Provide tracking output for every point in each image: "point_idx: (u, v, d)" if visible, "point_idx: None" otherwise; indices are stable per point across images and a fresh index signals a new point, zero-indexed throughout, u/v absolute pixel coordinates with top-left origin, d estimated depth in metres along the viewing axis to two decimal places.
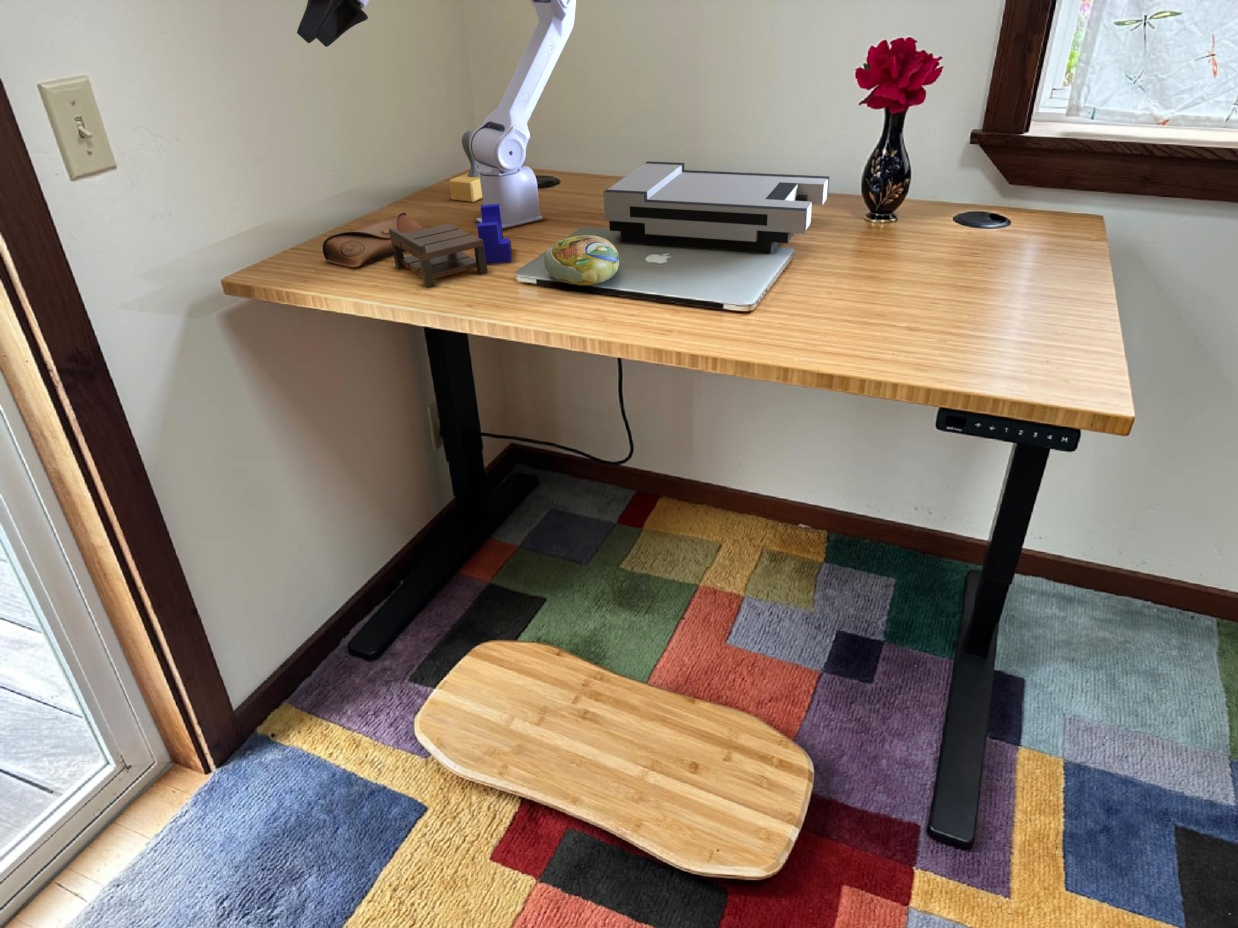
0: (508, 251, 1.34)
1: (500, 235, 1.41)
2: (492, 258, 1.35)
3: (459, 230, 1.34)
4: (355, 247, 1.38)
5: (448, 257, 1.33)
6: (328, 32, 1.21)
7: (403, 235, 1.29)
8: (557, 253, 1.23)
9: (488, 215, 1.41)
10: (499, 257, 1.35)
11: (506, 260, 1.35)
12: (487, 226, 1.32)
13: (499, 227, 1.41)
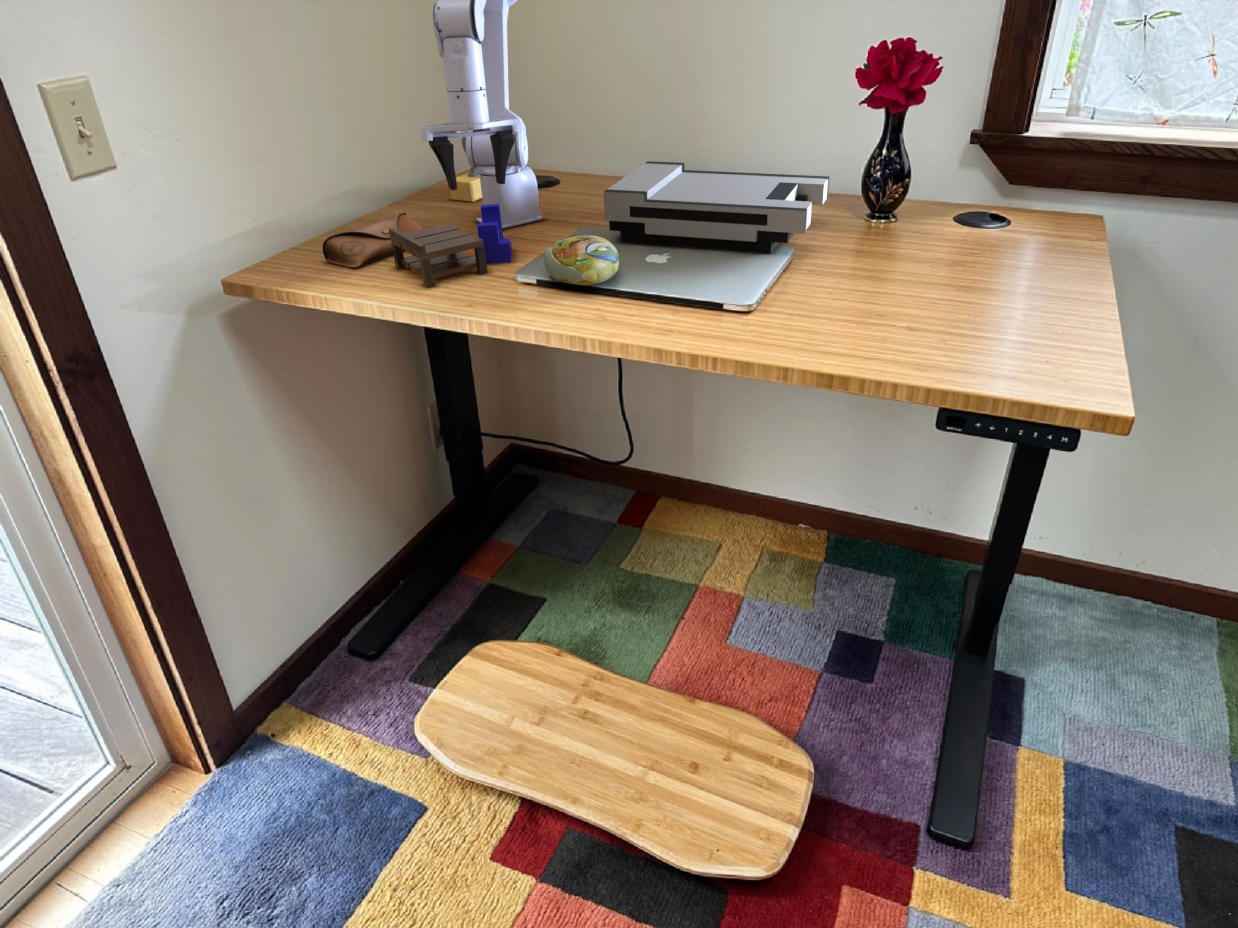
0: (508, 251, 1.34)
1: (500, 235, 1.41)
2: (492, 258, 1.35)
3: (459, 230, 1.34)
4: (355, 247, 1.38)
5: (448, 257, 1.33)
6: None
7: (403, 235, 1.29)
8: (557, 253, 1.23)
9: (488, 215, 1.41)
10: (499, 257, 1.35)
11: (506, 260, 1.35)
12: (487, 226, 1.32)
13: (499, 227, 1.41)
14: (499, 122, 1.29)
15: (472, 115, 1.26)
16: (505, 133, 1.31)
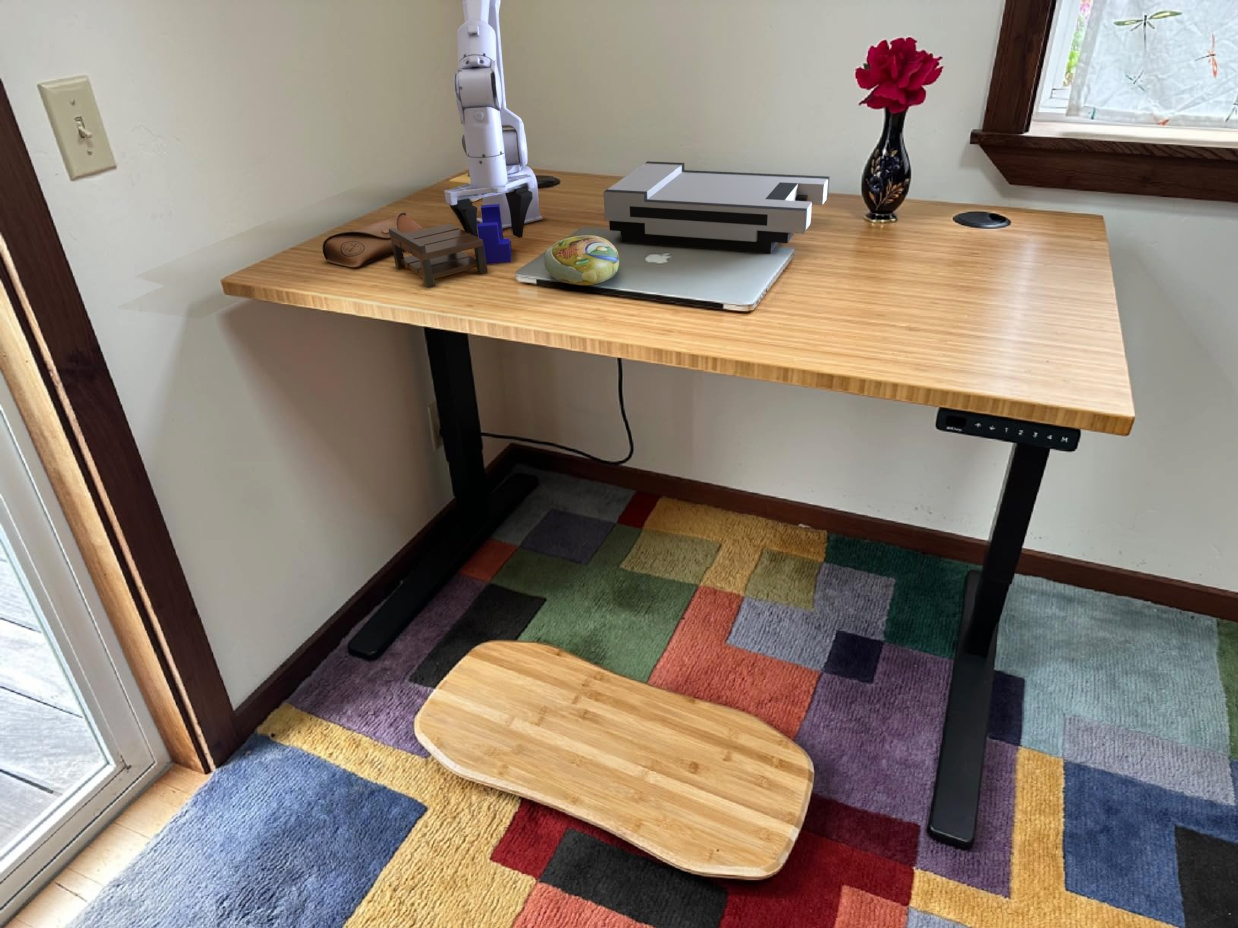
0: (508, 251, 1.34)
1: (500, 235, 1.41)
2: (492, 258, 1.35)
3: (459, 230, 1.34)
4: (355, 247, 1.38)
5: (448, 257, 1.33)
6: None
7: (403, 235, 1.29)
8: (557, 253, 1.23)
9: (488, 215, 1.41)
10: (499, 257, 1.35)
11: (506, 261, 1.35)
12: (487, 226, 1.32)
13: (499, 227, 1.41)
14: (517, 181, 1.35)
15: (494, 178, 1.32)
16: (522, 190, 1.37)
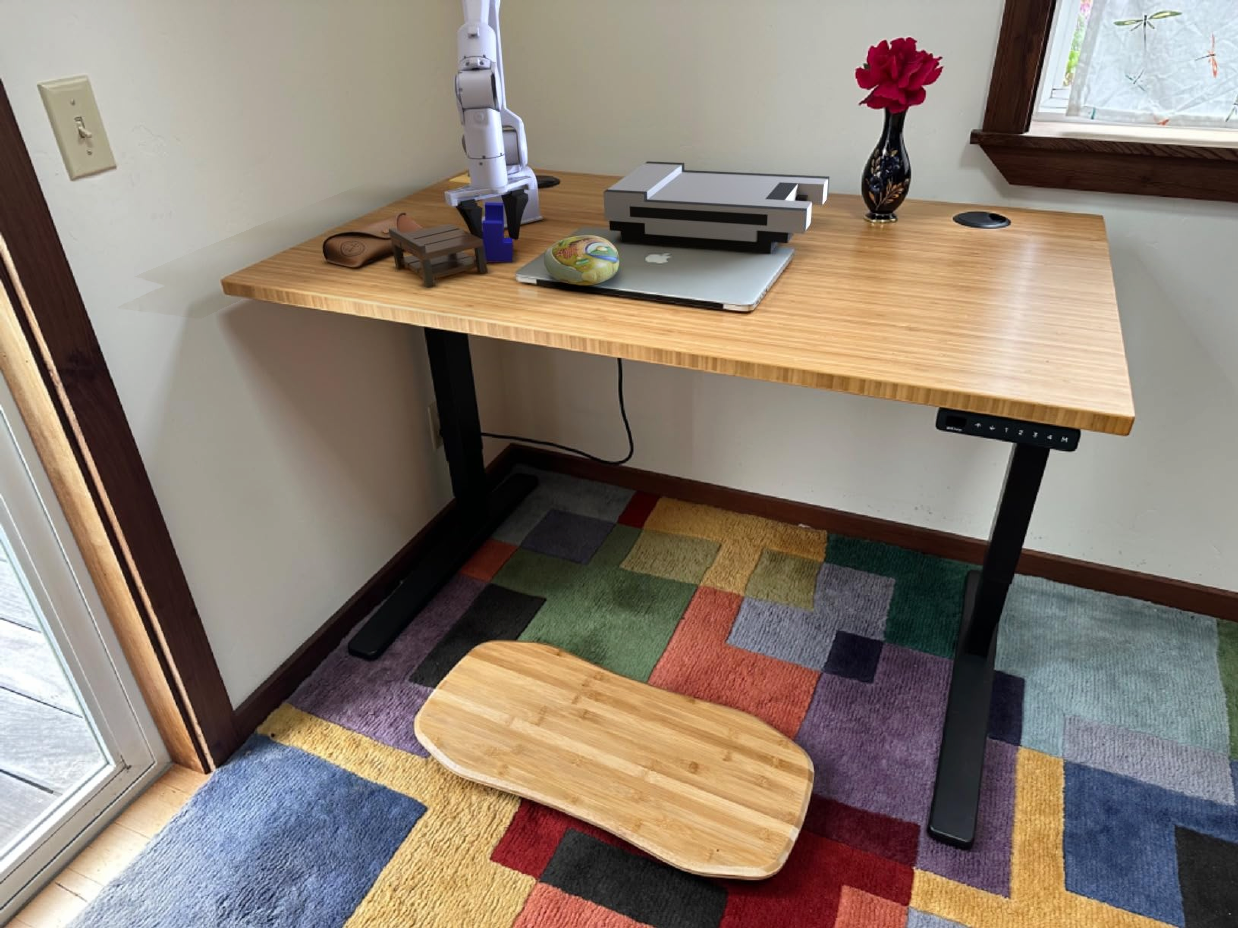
0: (511, 251, 1.34)
1: None
2: (494, 256, 1.35)
3: (459, 230, 1.34)
4: (355, 247, 1.38)
5: (448, 257, 1.33)
6: None
7: (403, 235, 1.29)
8: (557, 253, 1.23)
9: (491, 213, 1.41)
10: (501, 256, 1.35)
11: (508, 260, 1.35)
12: (492, 224, 1.32)
13: None
14: (517, 183, 1.35)
15: (494, 180, 1.32)
16: (517, 192, 1.37)
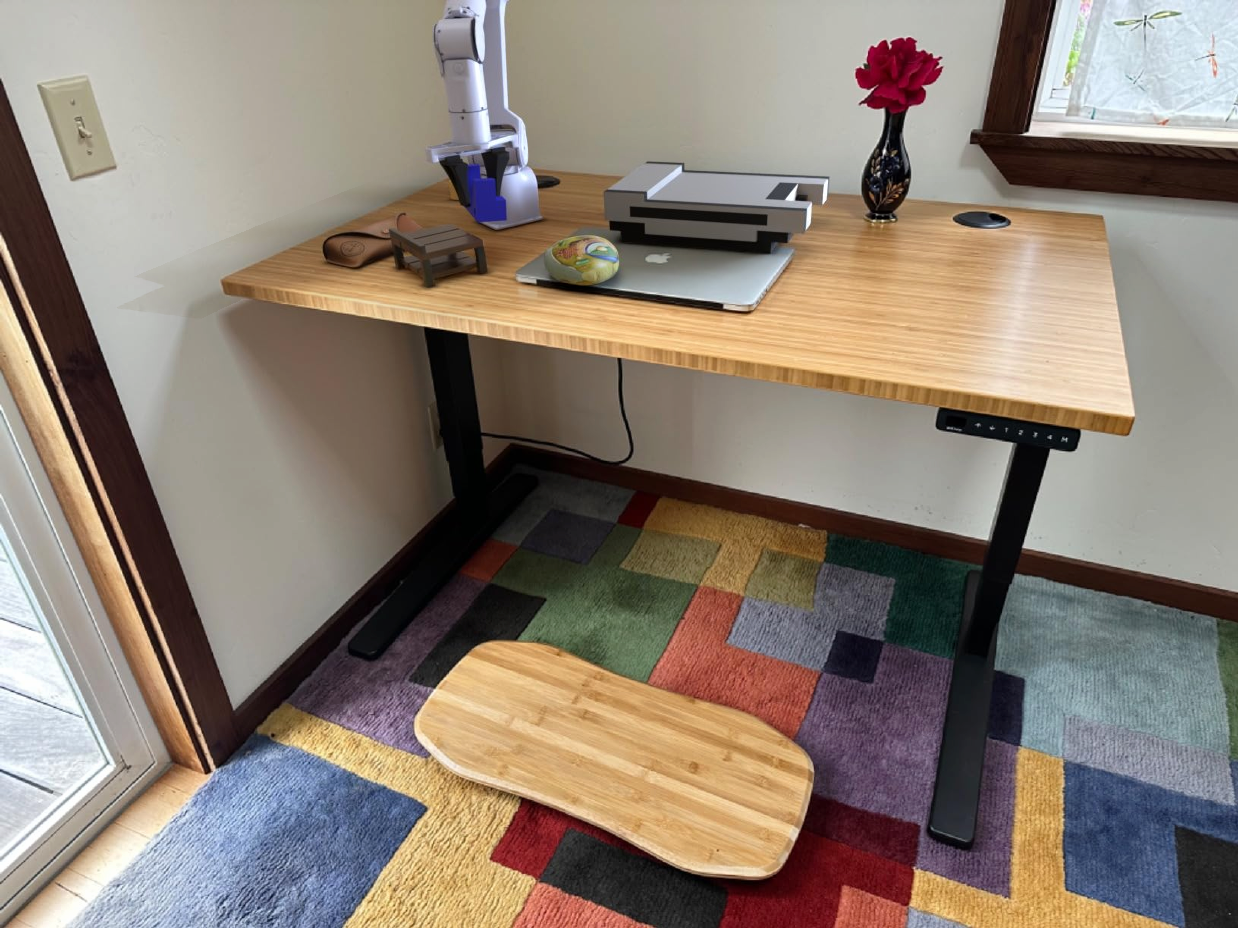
0: (505, 208, 1.30)
1: None
2: (487, 215, 1.29)
3: (459, 230, 1.34)
4: (355, 247, 1.38)
5: (448, 257, 1.33)
6: None
7: (403, 235, 1.29)
8: (557, 253, 1.23)
9: (468, 175, 1.36)
10: (495, 215, 1.30)
11: (502, 218, 1.30)
12: (485, 181, 1.27)
13: None
14: (501, 139, 1.30)
15: (476, 135, 1.27)
16: (498, 150, 1.32)
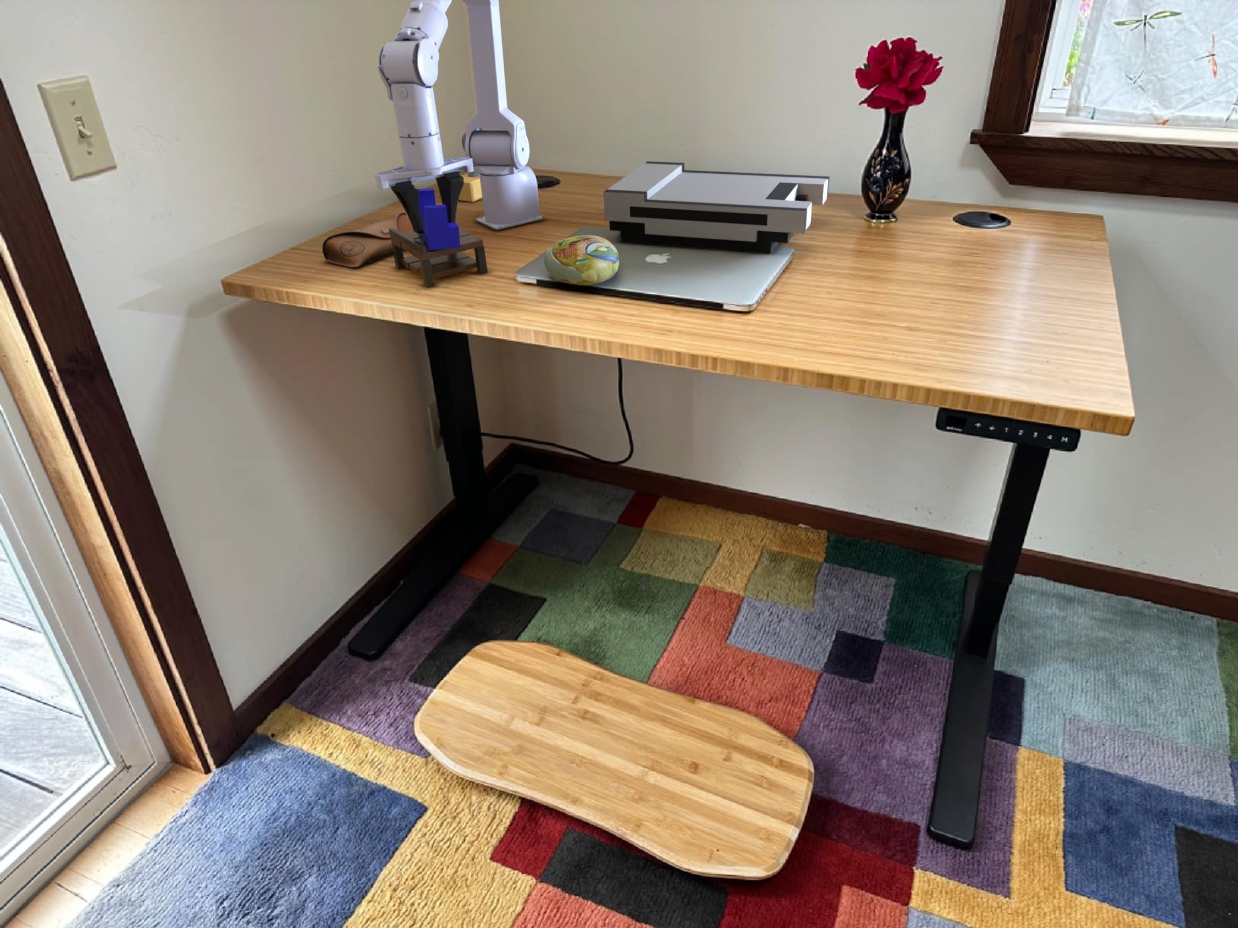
0: (458, 235, 1.25)
1: None
2: (440, 243, 1.25)
3: (459, 230, 1.34)
4: (355, 247, 1.38)
5: (448, 257, 1.33)
6: None
7: (403, 235, 1.29)
8: (557, 253, 1.23)
9: (422, 200, 1.31)
10: (448, 242, 1.25)
11: (455, 246, 1.26)
12: (436, 208, 1.23)
13: None
14: (454, 164, 1.26)
15: (428, 160, 1.23)
16: (452, 175, 1.28)
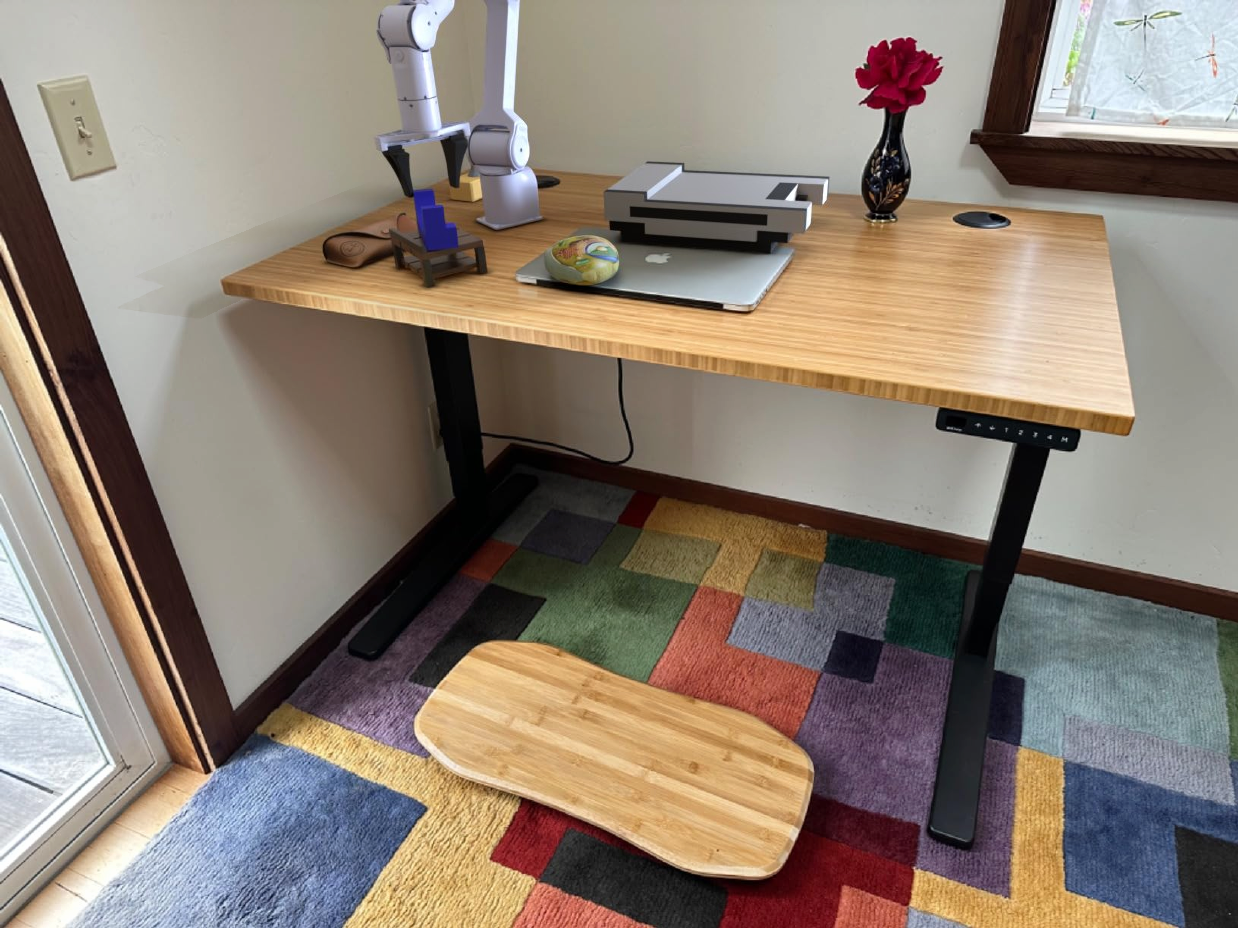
0: (456, 235, 1.25)
1: None
2: (438, 243, 1.25)
3: (459, 230, 1.34)
4: (355, 247, 1.38)
5: (448, 257, 1.33)
6: None
7: (403, 235, 1.29)
8: (557, 253, 1.23)
9: (422, 200, 1.31)
10: (446, 242, 1.25)
11: (453, 246, 1.26)
12: (433, 209, 1.23)
13: None
14: (452, 127, 1.30)
15: (426, 123, 1.26)
16: (457, 137, 1.32)
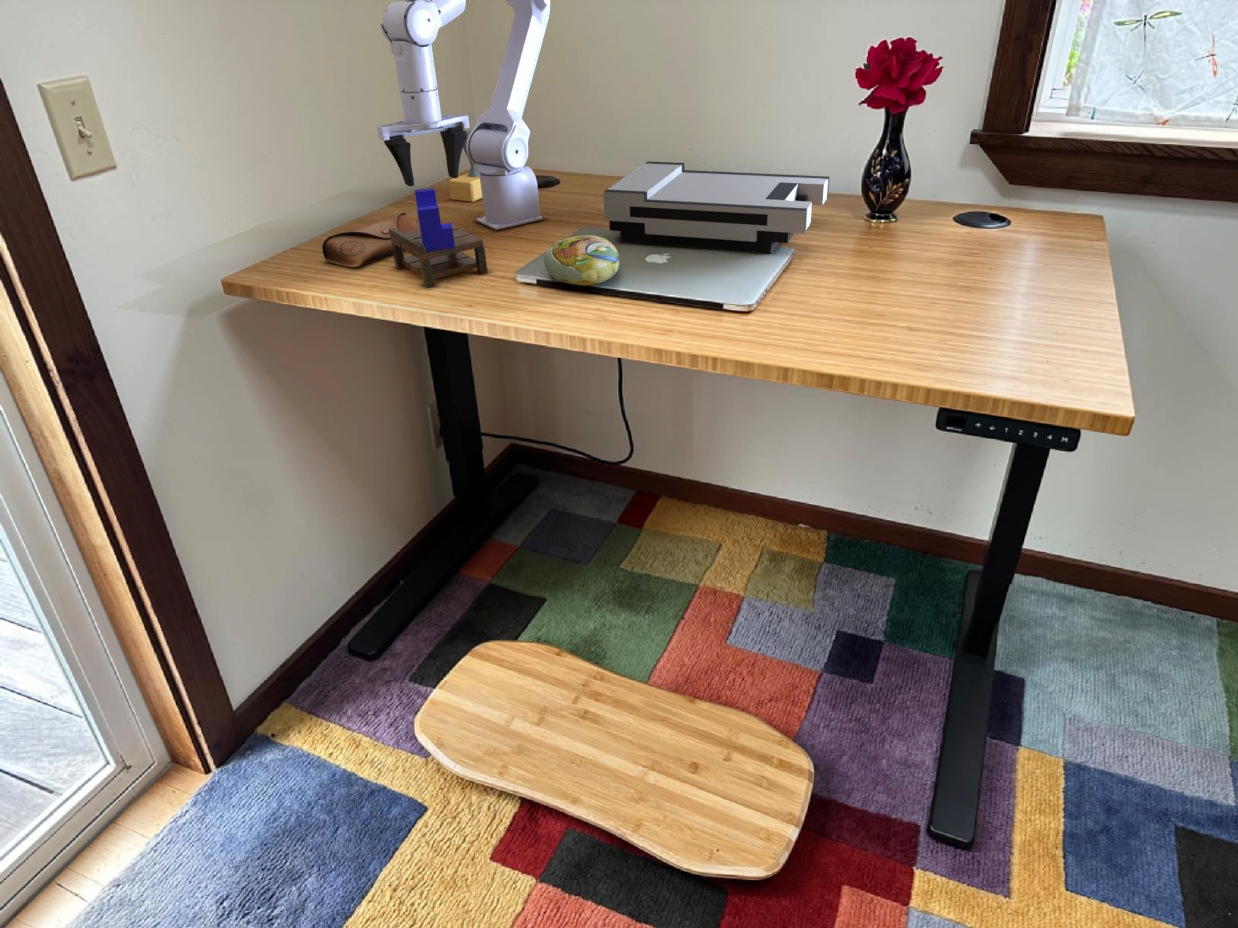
0: (452, 236, 1.25)
1: None
2: (434, 244, 1.25)
3: (459, 230, 1.34)
4: (355, 247, 1.38)
5: (448, 257, 1.33)
6: None
7: (403, 235, 1.29)
8: (557, 253, 1.23)
9: (423, 200, 1.32)
10: (442, 243, 1.25)
11: (450, 247, 1.26)
12: (428, 210, 1.23)
13: None
14: (451, 119, 1.35)
15: (426, 114, 1.32)
16: (456, 129, 1.37)
